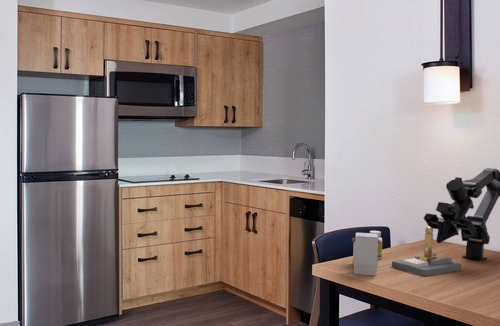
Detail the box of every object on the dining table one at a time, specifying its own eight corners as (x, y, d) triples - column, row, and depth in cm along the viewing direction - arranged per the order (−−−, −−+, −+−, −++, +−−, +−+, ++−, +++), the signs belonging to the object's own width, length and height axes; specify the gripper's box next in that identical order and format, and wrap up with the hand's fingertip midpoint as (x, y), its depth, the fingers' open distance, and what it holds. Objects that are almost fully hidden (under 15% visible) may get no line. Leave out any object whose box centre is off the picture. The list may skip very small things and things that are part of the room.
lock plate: (427, 261, 199) (428, 251, 199) (460, 269, 188) (461, 259, 188) (391, 266, 189) (392, 256, 189) (424, 276, 177) (425, 265, 177)
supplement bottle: (383, 257, 204) (384, 231, 203) (380, 260, 199) (381, 233, 198) (368, 255, 206) (369, 229, 206) (365, 258, 201) (366, 231, 201)
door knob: (428, 260, 191) (430, 225, 191) (436, 262, 189) (437, 226, 188) (419, 261, 188) (420, 226, 188) (426, 263, 186) (428, 227, 185)
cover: (413, 261, 189) (413, 258, 189) (428, 265, 184) (428, 261, 184) (402, 263, 186) (402, 260, 186) (416, 267, 181) (416, 263, 181)
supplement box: (376, 276, 176) (378, 237, 175) (353, 274, 177) (355, 235, 177) (376, 270, 183) (377, 233, 183) (353, 268, 185) (355, 231, 184)
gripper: (428, 191, 201) (406, 223, 195) (473, 197, 185) (451, 231, 180) (440, 211, 205) (419, 242, 200) (485, 218, 190) (464, 253, 184)
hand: (437, 242), depth 191 cm, fingers closed
